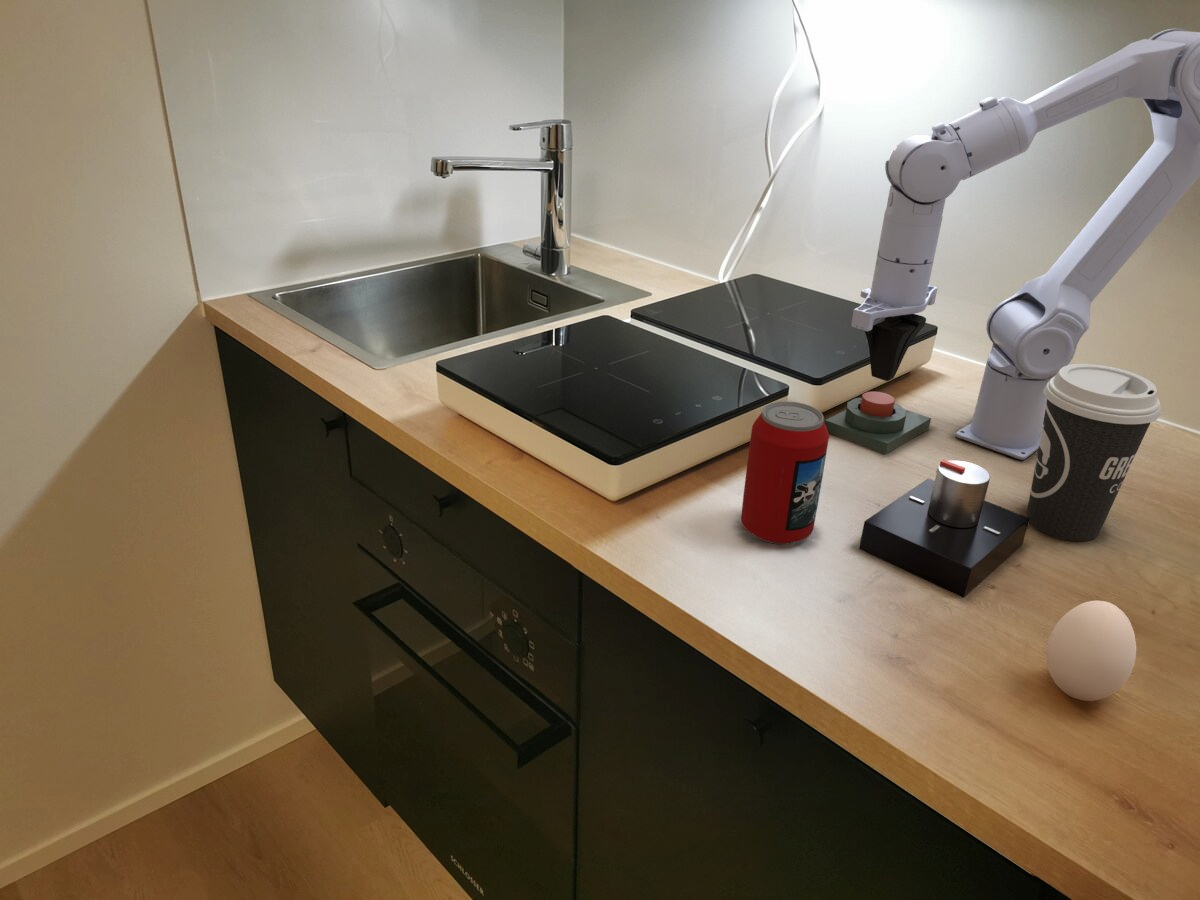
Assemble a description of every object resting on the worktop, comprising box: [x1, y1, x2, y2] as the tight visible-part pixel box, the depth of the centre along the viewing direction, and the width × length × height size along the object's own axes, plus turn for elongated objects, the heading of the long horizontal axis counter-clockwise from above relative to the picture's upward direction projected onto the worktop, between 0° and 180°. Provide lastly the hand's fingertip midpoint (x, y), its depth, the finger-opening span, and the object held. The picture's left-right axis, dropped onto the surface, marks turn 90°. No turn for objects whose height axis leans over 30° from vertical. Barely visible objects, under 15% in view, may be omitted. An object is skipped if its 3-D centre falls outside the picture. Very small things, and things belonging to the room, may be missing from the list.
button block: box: [824, 397, 932, 455], centre depth 105 cm, size 10×8×3 cm
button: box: [860, 391, 896, 417], centre depth 103 cm, size 4×4×2 cm
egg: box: [1045, 599, 1137, 702], centre depth 64 cm, size 6×6×8 cm
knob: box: [928, 459, 991, 528], centre depth 81 cm, size 4×4×5 cm
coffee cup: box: [1025, 363, 1162, 542], centre depth 84 cm, size 10×10×15 cm
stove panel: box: [858, 478, 1030, 599], centre depth 82 cm, size 12×10×3 cm
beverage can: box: [740, 400, 830, 545], centre depth 82 cm, size 7×7×12 cm
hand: (882, 377), depth 101 cm, fingers closed
